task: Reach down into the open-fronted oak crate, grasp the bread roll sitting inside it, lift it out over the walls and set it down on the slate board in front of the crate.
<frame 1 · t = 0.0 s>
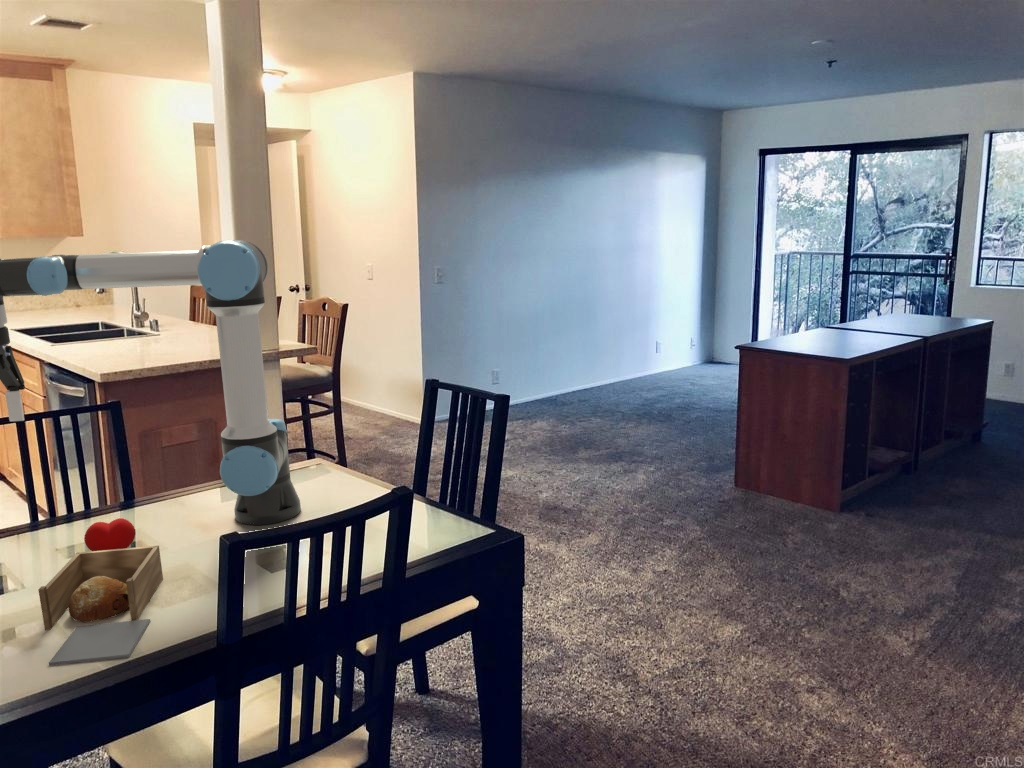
hand: (2, 428, 166), 28 cm above the table, fingers open, 13 cm apart
oak crate: (108, 602, 148), on the table
red heart shape: (114, 568, 164), on the table
slate board: (102, 642, 134), on the table
bread roll: (104, 610, 146), on the table
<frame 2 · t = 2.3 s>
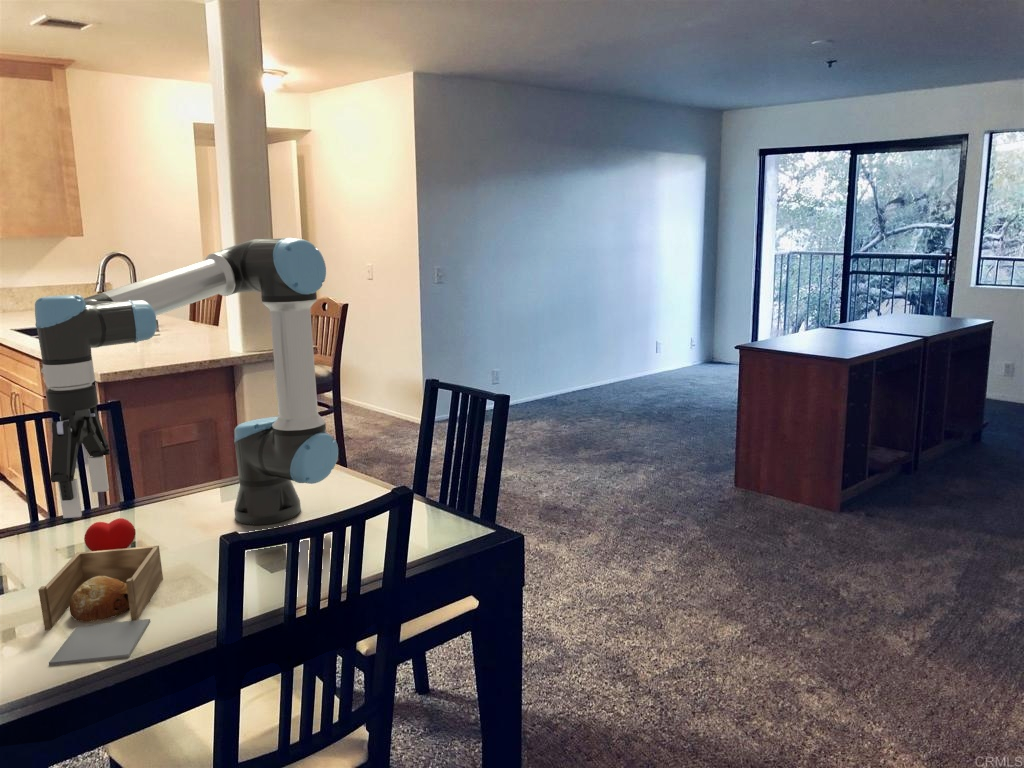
hand: (87, 503, 142), 20 cm above the table, fingers open, 13 cm apart
nothing on the table moved.
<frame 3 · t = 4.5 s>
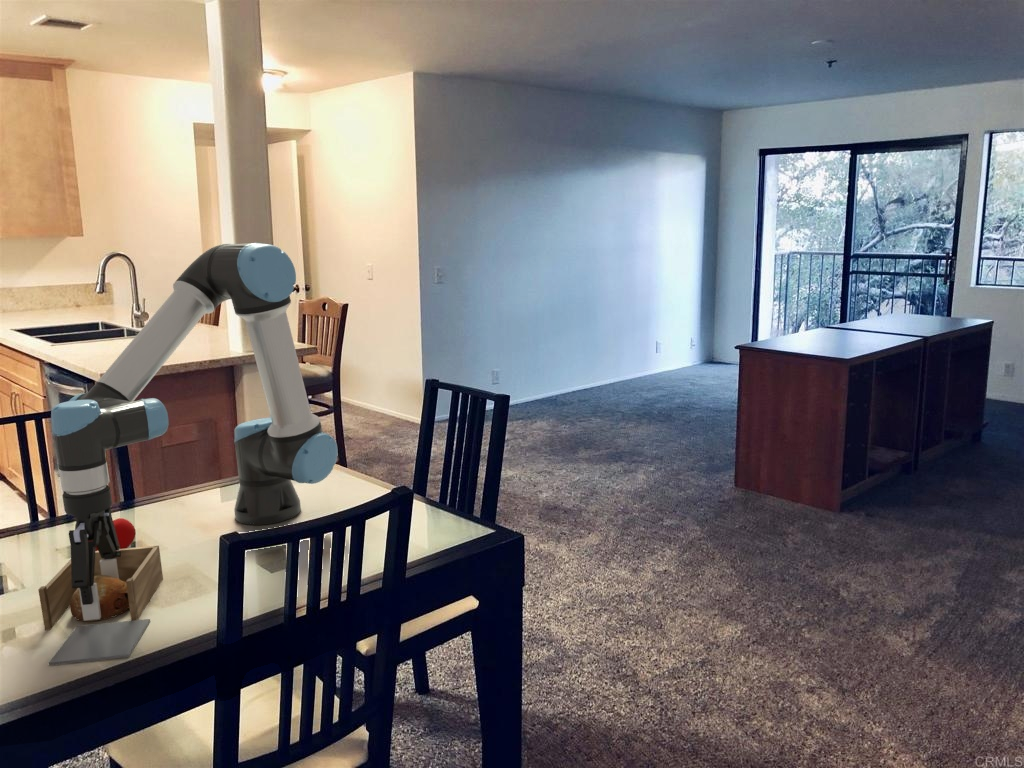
hand: (102, 605, 146), 1 cm above the table, fingers closed on bread roll, 10 cm apart
bread roll: (105, 609, 146), on the table, touching gripper
everything else where it was.
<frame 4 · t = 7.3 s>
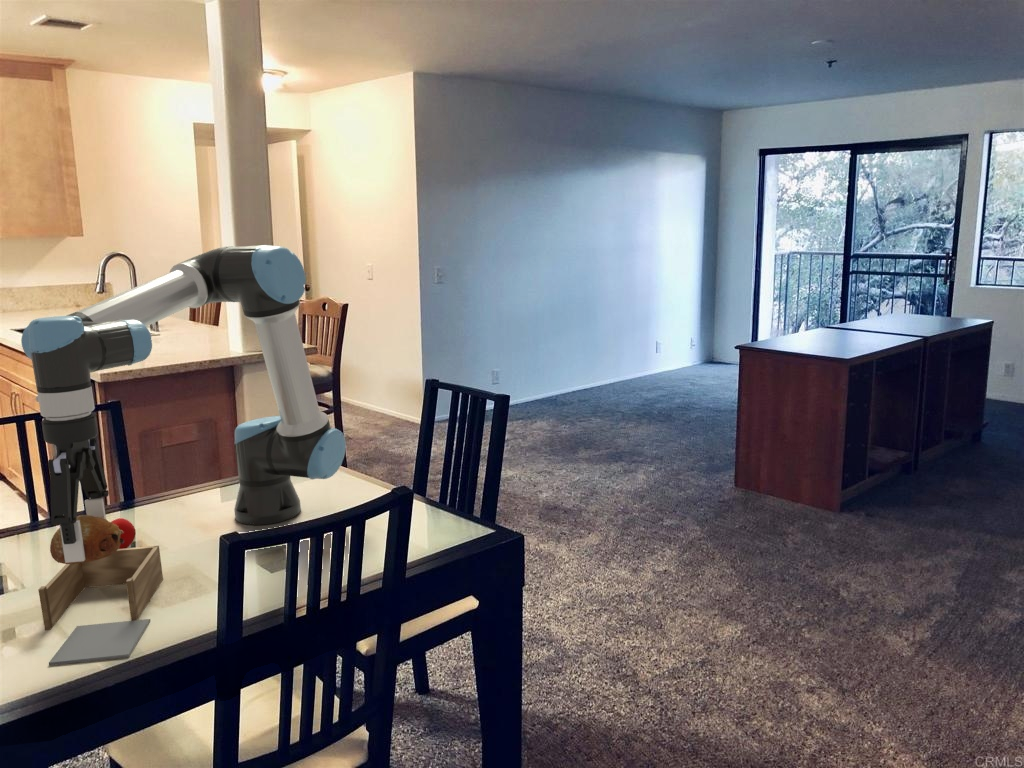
hand: (87, 548, 131), 17 cm above the table, fingers closed on bread roll, 10 cm apart
bread roll: (90, 553, 131), point 16 cm above the table, touching gripper
everything else where it was.
when the fingers open (3 cm above the table, at t = 10.4 s): bread roll drops 1 cm, resting on slate board.
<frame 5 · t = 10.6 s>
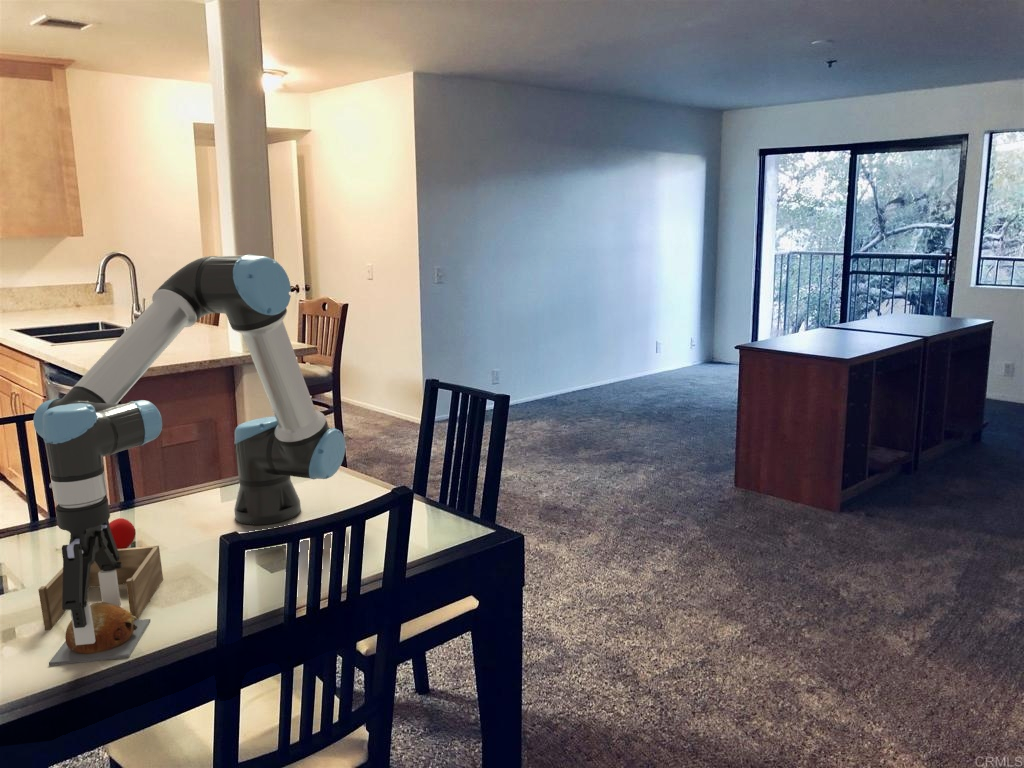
hand: (99, 624, 133), 3 cm above the table, fingers open, 12 cm apart
bread roll: (104, 640, 134), resting on slate board
everything else where it was.
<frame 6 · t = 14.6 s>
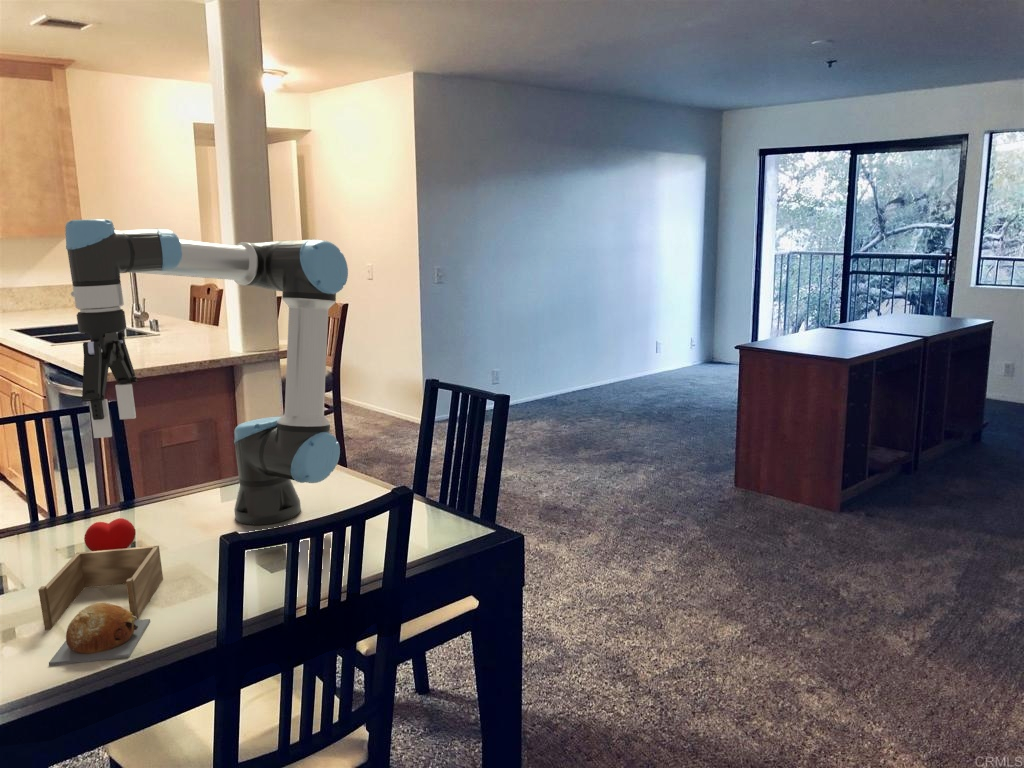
hand: (116, 427, 144), 33 cm above the table, fingers open, 13 cm apart
nothing on the table moved.
at the end: bread roll inside the target area on the slate board (0.4 cm from its centre), point 0.3 cm above the slate board's base; the gripper is holding nothing; bread roll moved 13.6 cm from its start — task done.
